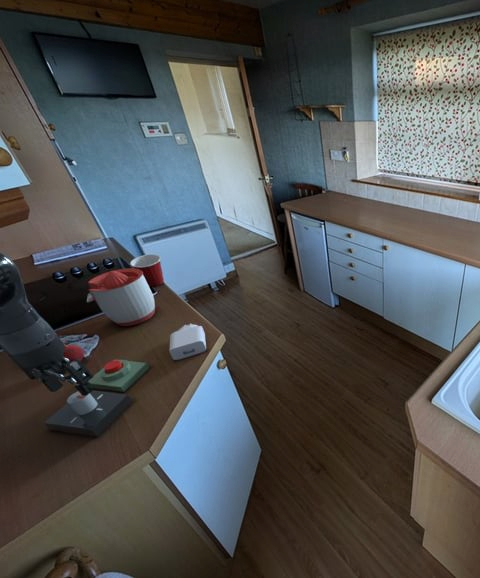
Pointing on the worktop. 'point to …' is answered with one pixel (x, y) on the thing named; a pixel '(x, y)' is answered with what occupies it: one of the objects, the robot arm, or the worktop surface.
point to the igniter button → (113, 366)
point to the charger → (187, 342)
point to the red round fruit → (73, 353)
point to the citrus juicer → (123, 296)
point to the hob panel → (90, 415)
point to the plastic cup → (149, 268)
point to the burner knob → (82, 403)
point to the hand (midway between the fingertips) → (73, 390)
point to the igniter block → (119, 376)
